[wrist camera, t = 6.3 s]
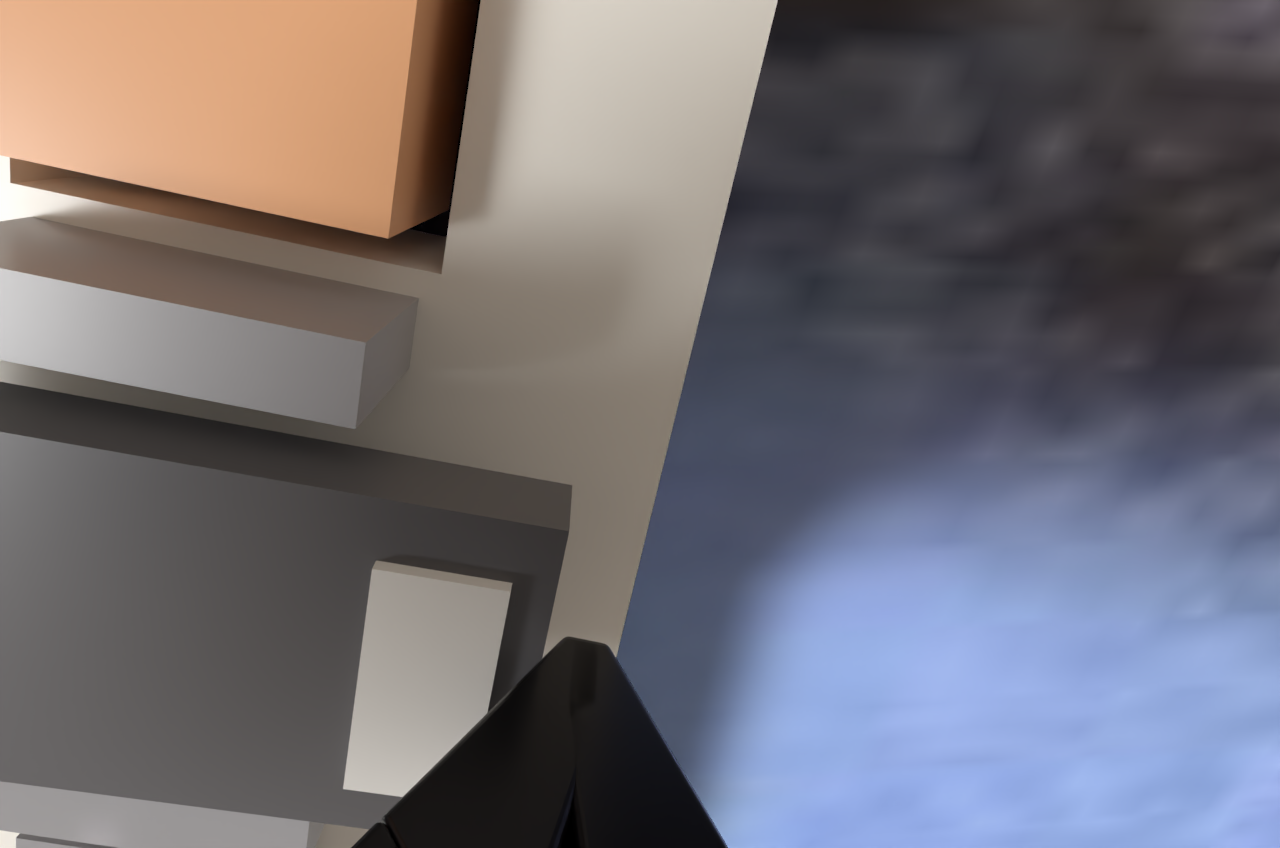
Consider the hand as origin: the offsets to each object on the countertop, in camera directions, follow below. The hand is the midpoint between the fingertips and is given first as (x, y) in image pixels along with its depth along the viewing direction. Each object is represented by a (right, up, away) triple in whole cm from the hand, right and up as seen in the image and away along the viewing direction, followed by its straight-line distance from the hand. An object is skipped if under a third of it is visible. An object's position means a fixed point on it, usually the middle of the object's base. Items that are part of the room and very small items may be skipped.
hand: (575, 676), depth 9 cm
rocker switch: (-4, +1, 0) cm, 4 cm away
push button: (-3, +7, +2) cm, 8 cm away
